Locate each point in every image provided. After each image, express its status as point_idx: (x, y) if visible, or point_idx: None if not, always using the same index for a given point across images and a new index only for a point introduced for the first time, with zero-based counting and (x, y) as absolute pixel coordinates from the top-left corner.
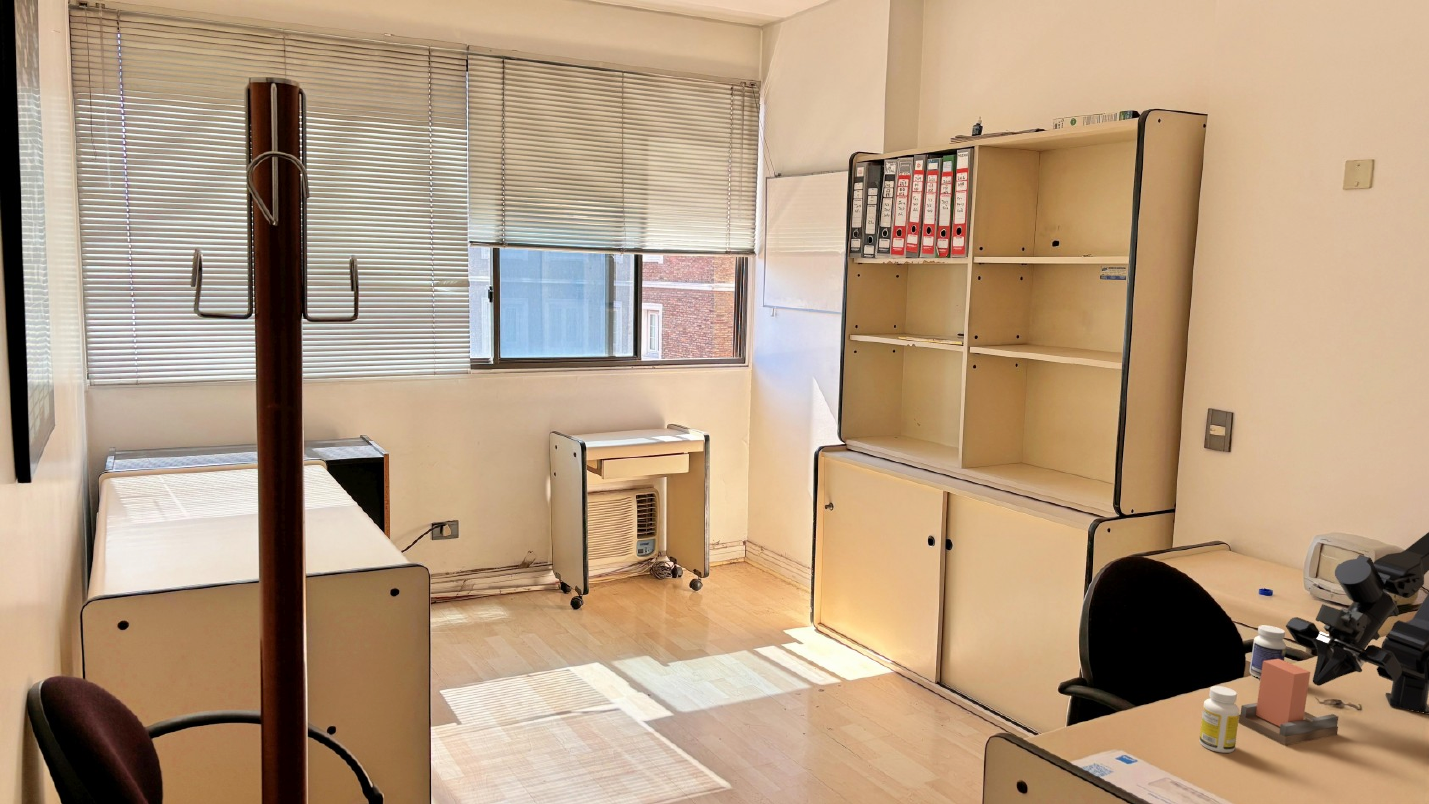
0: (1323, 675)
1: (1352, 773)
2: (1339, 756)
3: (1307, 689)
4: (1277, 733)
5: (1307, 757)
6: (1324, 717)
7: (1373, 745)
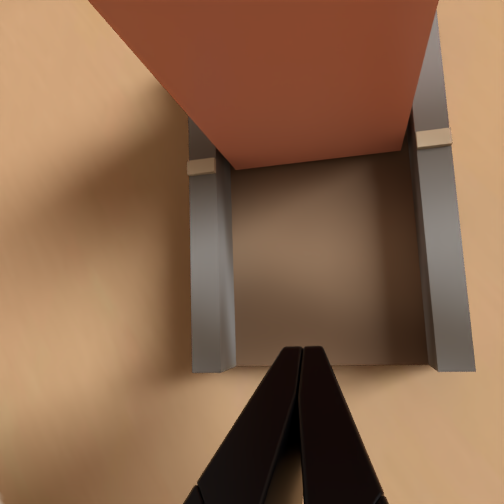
0: (249, 404)
1: (14, 130)
2: (97, 193)
3: (155, 74)
4: None
5: (126, 69)
6: (203, 280)
7: (112, 426)
